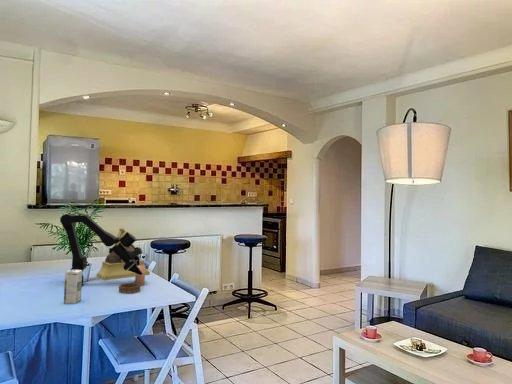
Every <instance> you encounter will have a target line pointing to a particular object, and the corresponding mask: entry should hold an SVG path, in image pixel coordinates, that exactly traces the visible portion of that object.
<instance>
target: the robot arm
mask: <svg viewBox="0 0 512 384" xmlns="http://www.w3.org/2000/svg"><path fill="white" fill-rule="evenodd" d="M59 222H60V224H61V225H62V228H63V229H64V230H65V232H66V235H67V239H68V243H69V244H68V245H69V248H70V251H71V254H72V255H71V256H72V259H71V268H70V269H69V270H82V286H84V285H85V284H84V274H83V273H84V270H86V268H87V267H88V263H89V262H88V259H87V256H86V255H85V256H84V255H83V254H82V251H81V246H80V243H79V238H78V235H77V232H76V224H77V223H82V224H84V225H85V226H86V227H87V228H89V229H90V230H91V231H92V232H93V233H94V234H96V236H98V237H99V240H100V241H101V242H102V244H103V245H104V246H105V247H109V248H108V254H110V253H111V252H114V253H115V254H116V255H117V256H118V257H119V258H120V260H122V261H123V262H124V263H125V265H124V269H125V270H127V269H128V268H129V269H128V271H131V272H134V273H137V274H139V275H142V272H141V271H140V269H139V268H138V267H137V265H139V264H140V260H141V259H140V258H141V257H140V255H142V254H143V249H142V248H141V247H138V246H136V247H135V250H134V251H132V252H131V251H130V250H127V249H126V248H125V247H130V246H131V245H132V244H134V243H135V242H136V241H137V238H136V236H134V235H133V234H132V233H130V232H128V231H127V233H126V234H125V235H124V236H123V237H122V238H117V237H116V236H115V235H113V234H112V233H111V232H108V231H106V230H105V229H103V228H102V227H101V226H100V225H99V224H98V223H96V221H94V220H93V219H92V218H91V217H90V216H89V215H88V214H78V215H77V214H76V215H74V214H73V213H67V214H66V213H65V214H63V215H61V217H60V220H59ZM118 242H120V243H119V244H118V245H115V244H116V243H118ZM138 255H139V256H138ZM138 259H139V260H138Z"/></svg>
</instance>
